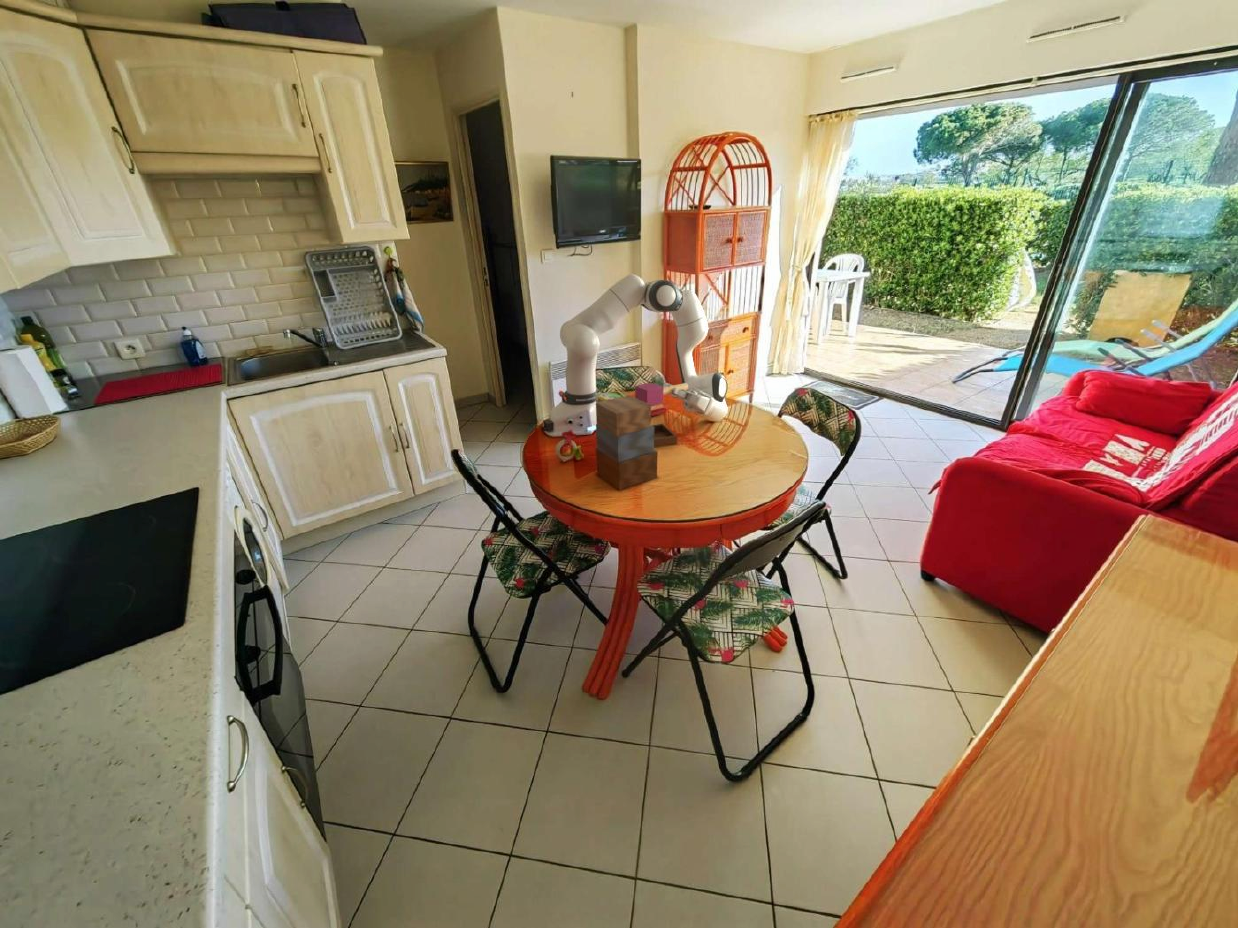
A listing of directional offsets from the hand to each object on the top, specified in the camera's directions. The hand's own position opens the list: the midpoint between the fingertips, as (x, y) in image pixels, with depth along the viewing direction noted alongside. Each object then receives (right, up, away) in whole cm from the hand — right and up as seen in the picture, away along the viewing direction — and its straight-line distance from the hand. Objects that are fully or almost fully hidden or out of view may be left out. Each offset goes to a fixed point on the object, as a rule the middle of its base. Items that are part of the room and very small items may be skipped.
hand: (670, 388), depth 181 cm
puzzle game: (-20, -3, +33) cm, 39 cm away
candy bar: (-6, -8, +24) cm, 26 cm away
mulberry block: (-2, -4, 0) cm, 4 cm away
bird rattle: (-35, -26, -11) cm, 44 cm away
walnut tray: (-8, -18, +3) cm, 20 cm away
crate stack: (-16, -30, -21) cm, 40 cm away
